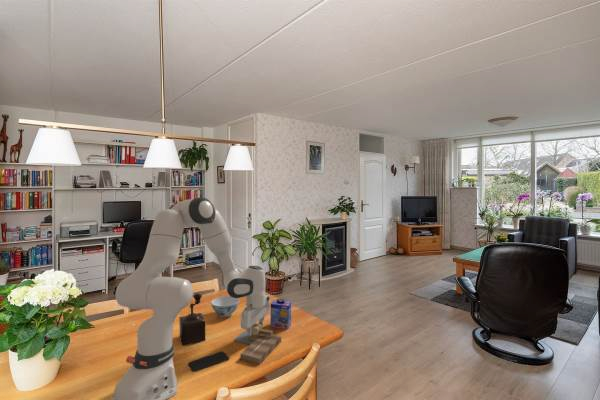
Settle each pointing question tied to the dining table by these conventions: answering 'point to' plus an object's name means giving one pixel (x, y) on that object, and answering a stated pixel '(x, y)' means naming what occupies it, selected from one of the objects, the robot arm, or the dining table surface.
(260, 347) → the walnut board
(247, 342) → the slate pad
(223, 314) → the chinaware
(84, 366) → the dining table surface
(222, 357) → the phone
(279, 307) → the ink cartridge box
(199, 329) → the coffee grinder
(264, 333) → the marking gauge
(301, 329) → the dining table surface
